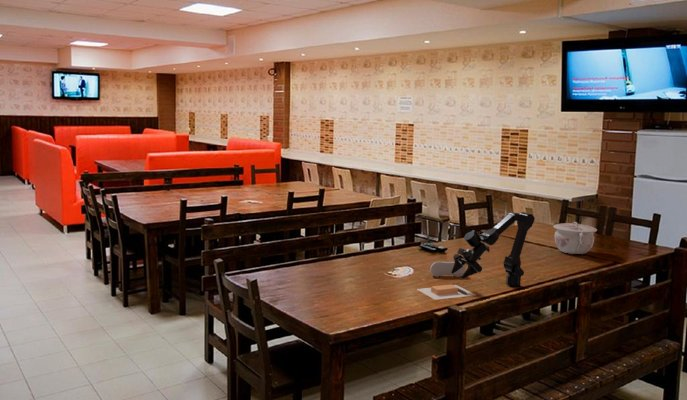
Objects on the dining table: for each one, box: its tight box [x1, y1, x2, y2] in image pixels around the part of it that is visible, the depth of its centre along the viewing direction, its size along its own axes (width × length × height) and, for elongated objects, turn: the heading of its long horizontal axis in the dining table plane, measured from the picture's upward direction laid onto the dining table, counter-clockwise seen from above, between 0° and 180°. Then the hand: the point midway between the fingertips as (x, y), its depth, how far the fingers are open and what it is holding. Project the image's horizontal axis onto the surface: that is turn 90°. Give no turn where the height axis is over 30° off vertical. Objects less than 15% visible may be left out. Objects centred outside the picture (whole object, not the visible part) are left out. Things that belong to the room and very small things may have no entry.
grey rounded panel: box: [429, 261, 466, 278], centre depth 335 cm, size 20×2×8 cm, turn 96°
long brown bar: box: [458, 288, 467, 295], centre depth 308 cm, size 1×14×1 cm, turn 23°
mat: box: [416, 284, 476, 301], centre depth 305 cm, size 24×18×1 cm
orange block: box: [430, 284, 458, 295], centre depth 304 cm, size 3×6×12 cm
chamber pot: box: [552, 221, 598, 255], centre depth 400 cm, size 28×28×21 cm
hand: (456, 275), depth 306 cm, fingers open, 9 cm apart
